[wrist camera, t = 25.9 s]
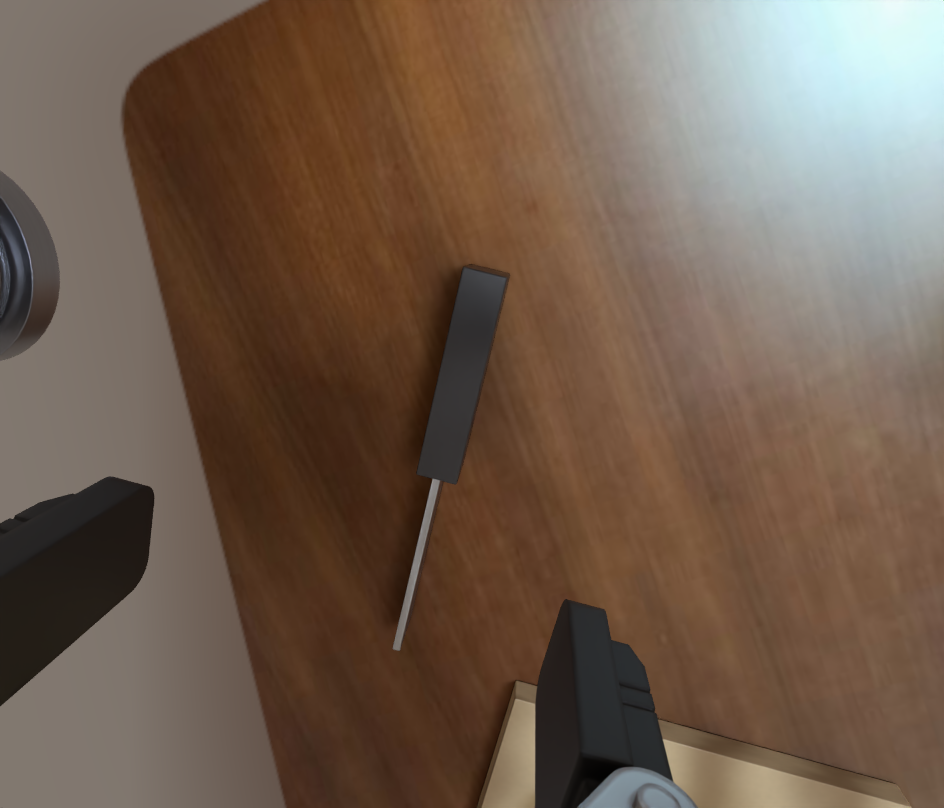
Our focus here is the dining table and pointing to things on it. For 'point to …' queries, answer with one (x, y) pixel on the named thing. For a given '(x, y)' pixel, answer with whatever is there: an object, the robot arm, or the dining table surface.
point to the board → (693, 770)
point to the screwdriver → (455, 401)
